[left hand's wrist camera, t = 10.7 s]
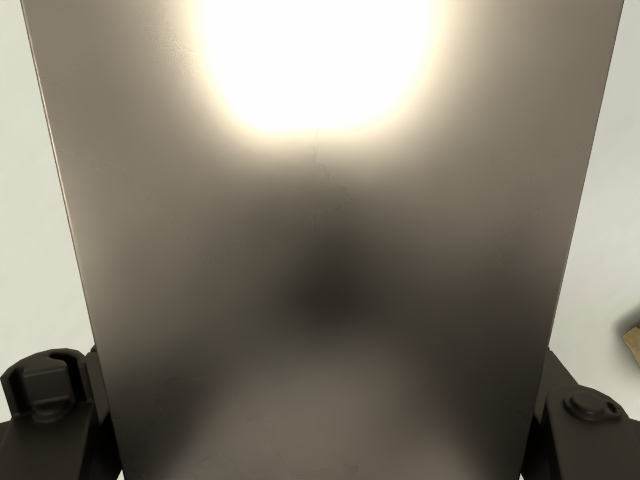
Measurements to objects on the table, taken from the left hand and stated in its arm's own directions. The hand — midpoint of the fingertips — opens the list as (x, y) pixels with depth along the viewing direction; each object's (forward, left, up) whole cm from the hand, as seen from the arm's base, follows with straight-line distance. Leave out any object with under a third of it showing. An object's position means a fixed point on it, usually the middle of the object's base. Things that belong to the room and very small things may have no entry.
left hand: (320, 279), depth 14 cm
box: (+11, +2, -1) cm, 11 cm away
